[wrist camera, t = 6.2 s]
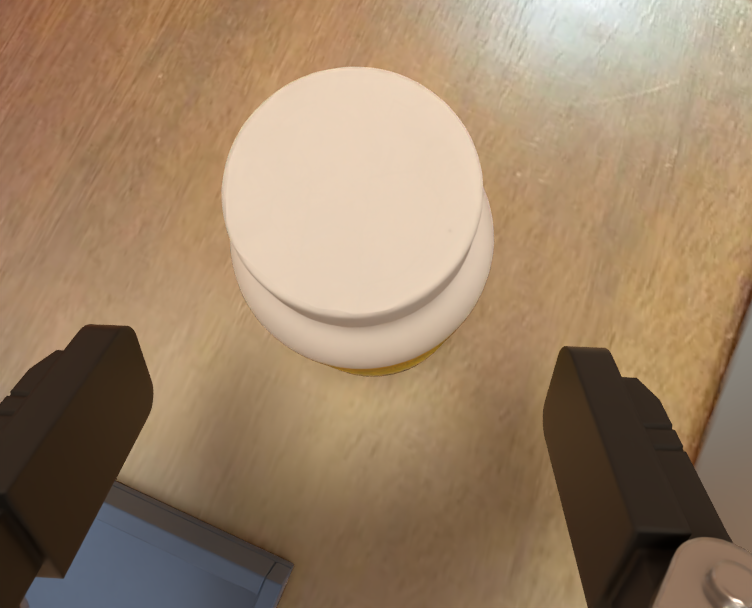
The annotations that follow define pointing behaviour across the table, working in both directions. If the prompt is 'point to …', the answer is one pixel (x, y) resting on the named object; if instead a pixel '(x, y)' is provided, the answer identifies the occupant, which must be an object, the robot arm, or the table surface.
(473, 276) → the pill bottle
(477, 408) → the table surface
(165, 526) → the slate-blue tray
